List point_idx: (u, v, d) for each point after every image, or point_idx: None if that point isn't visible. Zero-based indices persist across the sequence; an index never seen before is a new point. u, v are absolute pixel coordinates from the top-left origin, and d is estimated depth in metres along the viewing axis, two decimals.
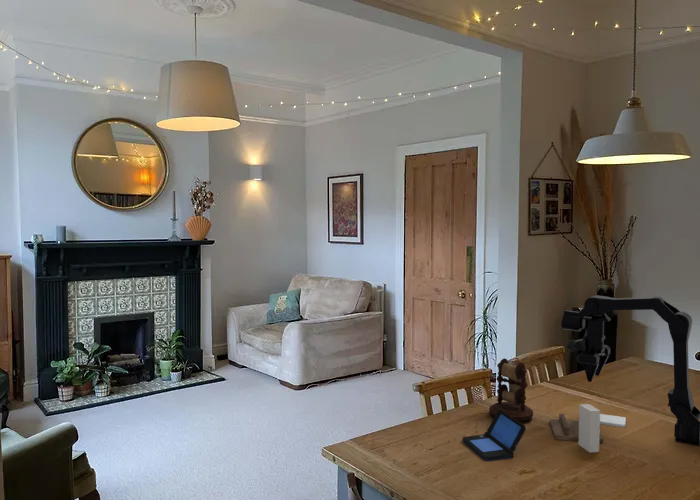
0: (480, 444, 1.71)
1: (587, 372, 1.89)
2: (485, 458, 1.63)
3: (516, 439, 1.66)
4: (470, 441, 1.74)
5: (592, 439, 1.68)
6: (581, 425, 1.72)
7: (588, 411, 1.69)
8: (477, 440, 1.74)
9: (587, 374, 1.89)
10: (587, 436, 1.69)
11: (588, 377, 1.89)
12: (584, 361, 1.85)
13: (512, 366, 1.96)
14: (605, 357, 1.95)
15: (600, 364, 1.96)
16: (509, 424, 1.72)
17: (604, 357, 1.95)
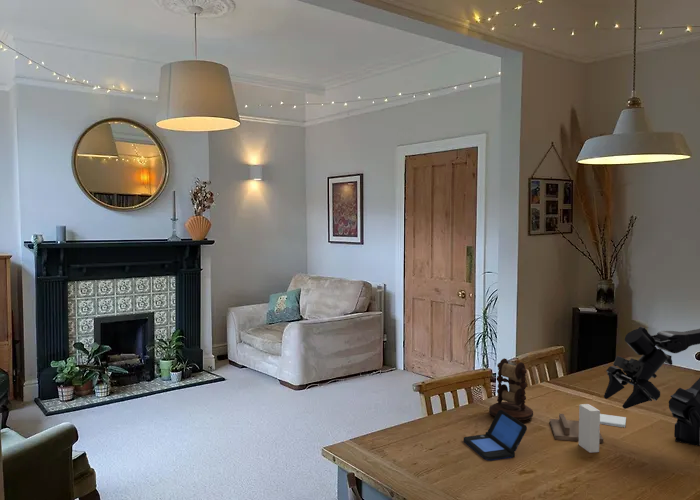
0: (481, 444, 1.71)
1: (632, 399, 1.66)
2: (486, 458, 1.63)
3: (517, 439, 1.66)
4: (471, 441, 1.74)
5: (592, 439, 1.68)
6: (581, 425, 1.72)
7: (588, 411, 1.69)
8: (478, 440, 1.74)
9: (630, 401, 1.66)
10: (587, 436, 1.69)
11: (627, 404, 1.67)
12: (650, 392, 1.63)
13: (512, 366, 1.96)
14: (622, 387, 1.78)
15: (615, 390, 1.77)
16: (510, 423, 1.72)
17: (622, 386, 1.78)
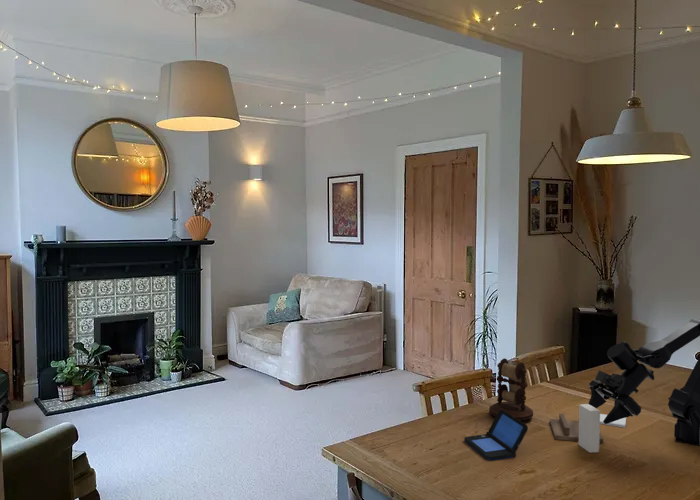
0: (482, 444, 1.71)
1: (613, 415, 1.66)
2: (488, 458, 1.63)
3: (518, 439, 1.66)
4: (472, 441, 1.74)
5: (592, 439, 1.68)
6: (581, 425, 1.72)
7: (588, 411, 1.69)
8: (479, 440, 1.74)
9: (611, 416, 1.66)
10: (587, 436, 1.69)
11: (608, 419, 1.66)
12: (631, 407, 1.62)
13: (512, 366, 1.96)
14: (604, 401, 1.77)
15: (596, 404, 1.76)
16: (511, 423, 1.72)
17: (604, 400, 1.77)
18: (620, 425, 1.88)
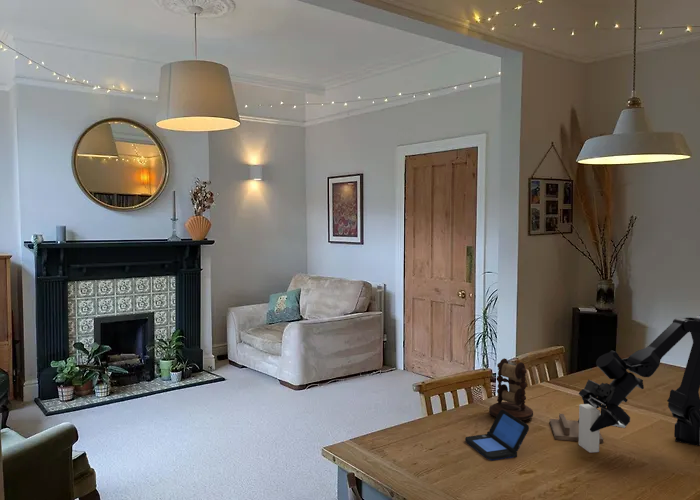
0: (483, 444, 1.71)
1: (599, 423, 1.67)
2: (489, 458, 1.63)
3: (519, 438, 1.66)
4: (473, 441, 1.74)
5: (592, 439, 1.68)
6: (581, 425, 1.72)
7: (588, 411, 1.69)
8: (480, 440, 1.74)
9: (597, 424, 1.67)
10: (587, 435, 1.69)
11: (595, 427, 1.67)
12: (620, 417, 1.62)
13: (512, 366, 1.96)
14: None
15: None
16: (512, 423, 1.72)
17: None
18: (620, 425, 1.88)
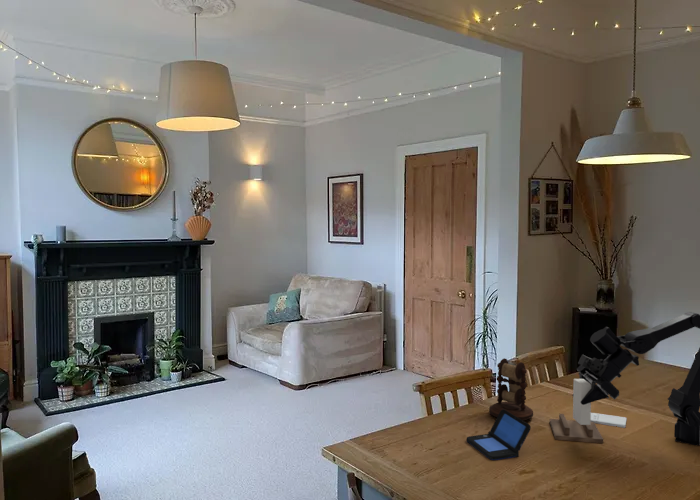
0: (485, 444, 1.71)
1: (589, 396, 1.71)
2: (491, 458, 1.63)
3: (521, 438, 1.67)
4: (474, 441, 1.74)
5: (583, 412, 1.73)
6: (575, 399, 1.77)
7: (579, 384, 1.73)
8: (481, 440, 1.75)
9: (587, 397, 1.71)
10: (579, 408, 1.74)
11: (585, 400, 1.72)
12: (608, 390, 1.66)
13: (512, 366, 1.96)
14: None
15: None
16: (513, 423, 1.73)
17: None
18: (620, 425, 1.88)
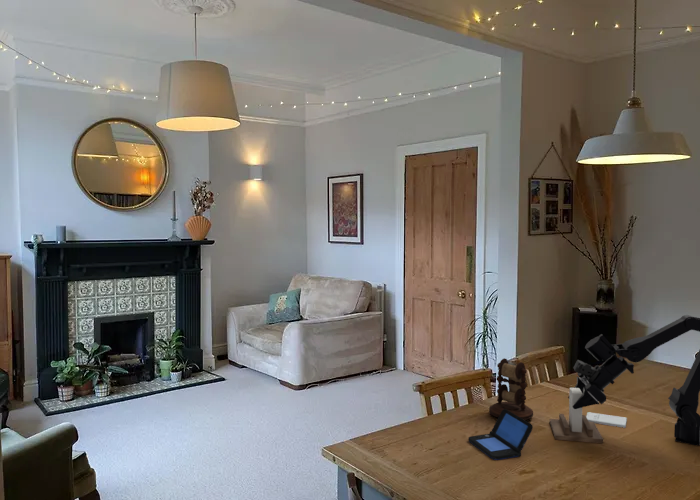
0: (487, 444, 1.72)
1: (581, 401, 1.77)
2: (494, 457, 1.63)
3: (523, 438, 1.67)
4: (476, 441, 1.74)
5: (574, 420, 1.81)
6: (569, 407, 1.85)
7: (571, 393, 1.82)
8: (483, 439, 1.75)
9: (579, 402, 1.78)
10: (571, 416, 1.82)
11: (577, 404, 1.78)
12: (594, 395, 1.73)
13: (512, 366, 1.96)
14: None
15: None
16: (515, 422, 1.73)
17: None
18: (620, 425, 1.88)
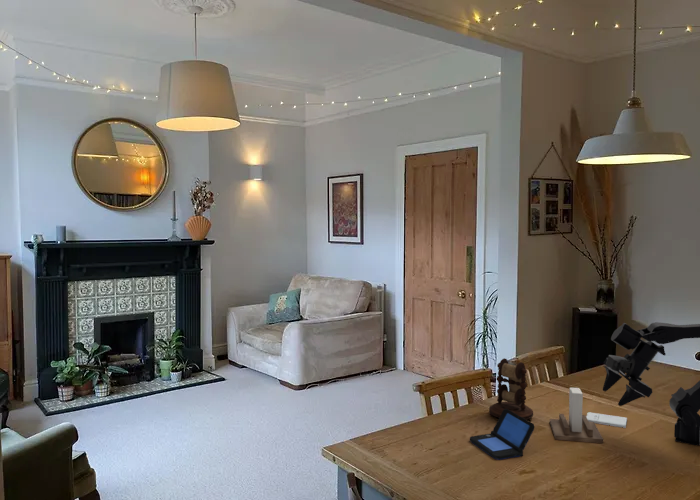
0: (489, 444, 1.72)
1: (626, 398, 1.75)
2: (496, 457, 1.64)
3: (525, 437, 1.67)
4: (478, 440, 1.74)
5: (574, 420, 1.81)
6: (569, 407, 1.85)
7: (571, 393, 1.82)
8: (485, 439, 1.75)
9: (624, 399, 1.75)
10: (571, 416, 1.82)
11: (622, 402, 1.76)
12: (641, 392, 1.71)
13: (512, 366, 1.96)
14: (620, 377, 1.85)
15: (613, 382, 1.85)
16: (516, 422, 1.73)
17: (619, 376, 1.85)
18: (620, 425, 1.88)
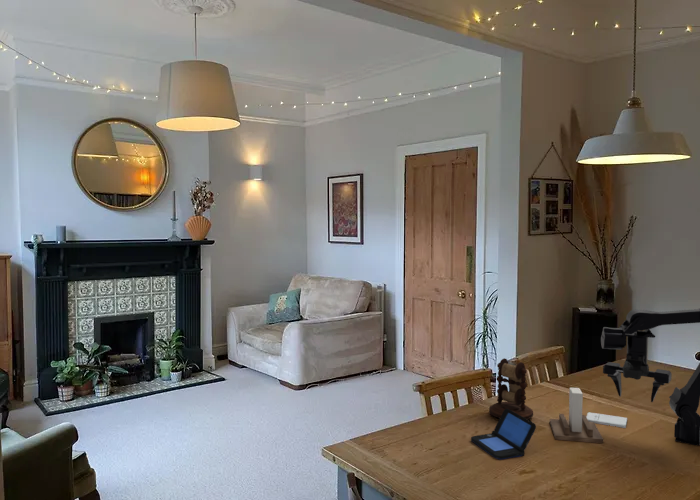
0: (490, 443, 1.72)
1: (656, 392, 1.76)
2: (497, 457, 1.64)
3: (527, 437, 1.67)
4: (479, 440, 1.74)
5: (574, 420, 1.81)
6: (569, 407, 1.85)
7: (571, 393, 1.82)
8: (486, 439, 1.75)
9: (655, 394, 1.76)
10: (571, 416, 1.82)
11: (654, 397, 1.76)
12: (669, 380, 1.73)
13: (512, 366, 1.96)
14: (620, 374, 1.84)
15: (620, 383, 1.83)
16: (517, 422, 1.73)
17: (620, 374, 1.84)
18: (621, 425, 1.88)
